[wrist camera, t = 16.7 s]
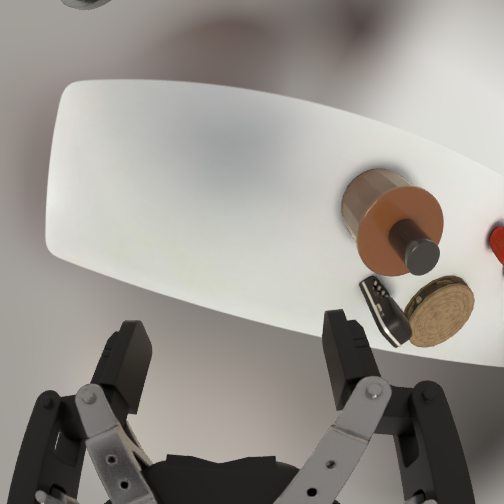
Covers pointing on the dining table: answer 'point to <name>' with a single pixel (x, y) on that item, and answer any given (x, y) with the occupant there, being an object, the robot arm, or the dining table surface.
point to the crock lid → (401, 232)
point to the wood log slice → (439, 311)
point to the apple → (498, 243)
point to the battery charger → (386, 312)
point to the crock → (367, 194)
